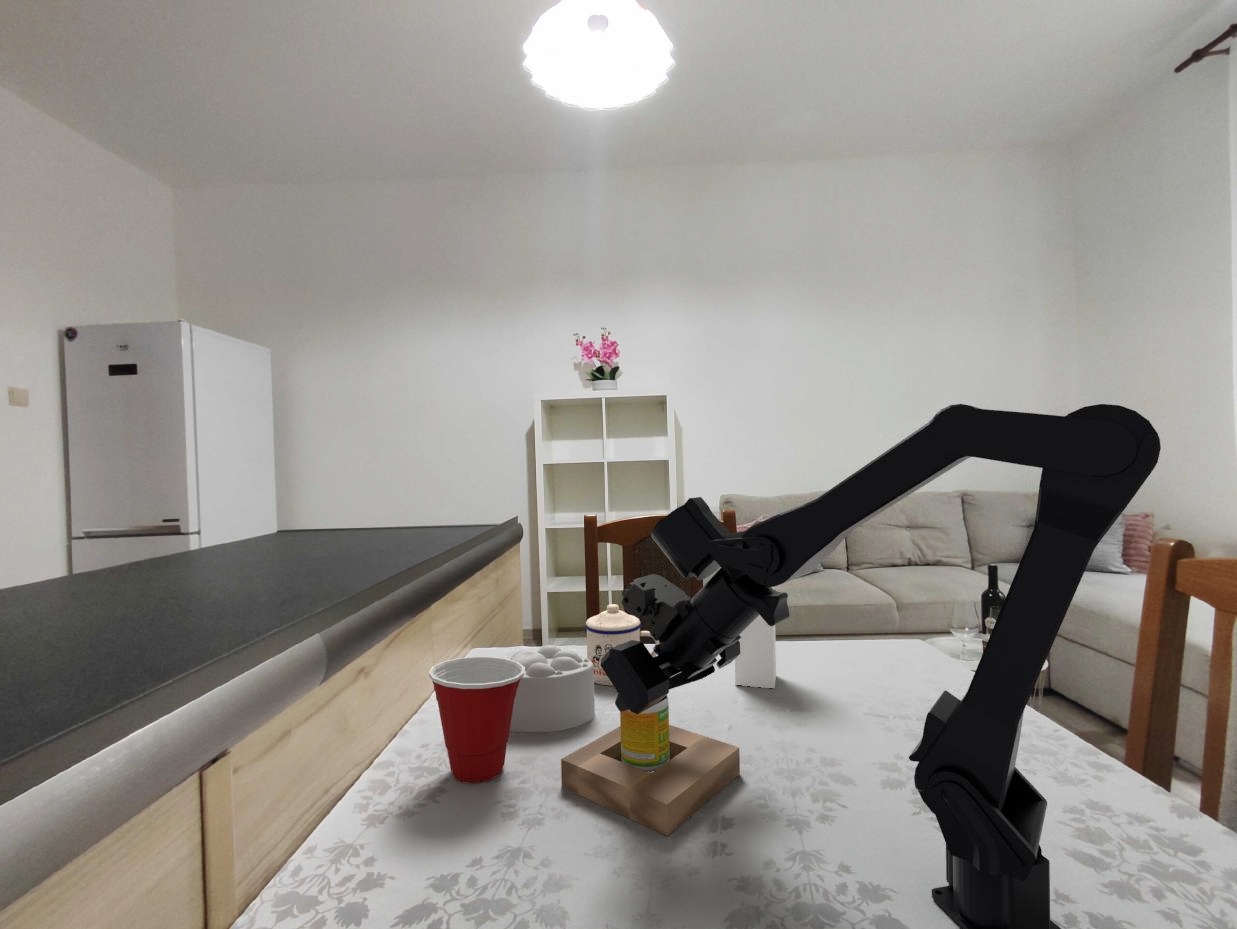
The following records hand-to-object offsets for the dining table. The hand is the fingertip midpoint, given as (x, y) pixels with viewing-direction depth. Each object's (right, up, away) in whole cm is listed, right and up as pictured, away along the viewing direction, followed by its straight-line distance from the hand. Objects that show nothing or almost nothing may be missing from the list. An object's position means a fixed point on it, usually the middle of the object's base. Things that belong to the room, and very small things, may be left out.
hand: (634, 698), depth 68 cm
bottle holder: (+1, -8, -1) cm, 9 cm away
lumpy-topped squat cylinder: (-12, -9, +16) cm, 22 cm away
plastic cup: (-18, -9, +2) cm, 20 cm away
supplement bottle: (+1, -7, -1) cm, 7 cm away
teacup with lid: (-1, -8, +30) cm, 32 cm away
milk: (+20, -8, +27) cm, 35 cm away
